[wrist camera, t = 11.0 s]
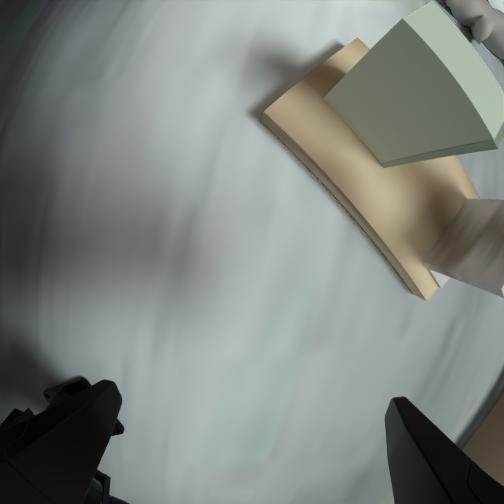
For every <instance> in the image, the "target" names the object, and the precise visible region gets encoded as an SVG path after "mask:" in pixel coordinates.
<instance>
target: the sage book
mask: <svg viewBox="0 0 504 504" xmlns="http://www.w3.org/2000/svg"><path fill="white" fill-rule="evenodd" d="M323 100H324V101H325V102H326V103H327V104H328V105H329V106H330V107H331V108H332V109H333V110H334V111H335V112H336V113H337V114H338V115H339V116H340V117H341V118H342V119H343V121H344V122H345V123H346V124H347V125H348V126H349V127H350V128H351V129H352V130H353V132H354V133H355V134H356V135H357V136H358V137H359V138H360V139H361V141H362V142H363V143H364V144H365V145H366V146H367V148H368V149H369V150H370V151H371V152H372V154H373V155H374V156H375V157H376V158H377V160H378V161H379V162H380V164H381V166H382V167H383V168H388V167H393V166H398V165H403V164H408V163H414V162H419V161H424V160H430V159H436V158H441V157H447V156H453V155H459V154H466V153H472V152H479V151H486V150H493V149H498V148H499V146H500V144H501V142H502V141H503V139H504V92H503V90H502V88H501V87H500V85H499V84H498V82H497V80H496V79H495V77H494V76H493V74H492V73H491V71H490V70H489V68H488V67H487V65H486V64H485V62H484V61H483V60H482V58H481V57H480V55H479V54H478V53H477V51H476V50H475V49H474V47H473V46H472V45H471V44H470V42H469V41H468V40H467V39H466V37H465V36H464V35H463V34H462V32H461V31H460V30H459V29H458V28H457V27H456V25H455V24H454V23H453V22H452V21H451V20H450V19H449V18H448V16H447V15H446V14H445V13H444V12H443V11H442V10H441V9H440V8H439V7H438V6H437V5H436V4H435V3H434V2H433V1H431V2H429V3H427V4H426V5H424V6H422V7H421V8H419V9H417V10H415V11H414V12H412V13H411V14H409V15H407V16H406V17H404V18H402V19H401V20H400V21H399V22H398V23H397V24H396V25H395V26H394V27H393V28H392V29H391V30H390V31H389V32H388V33H387V34H386V35H385V36H384V37H383V38H382V39H381V40H380V41H379V42H377V43H376V44H375V45H374V46H373V47H372V48H371V49H370V50H369V51H368V52H367V53H366V54H365V55H364V56H363V57H362V58H361V59H360V60H359V62H358V63H357V64H356V65H355V66H354V67H353V68H352V69H351V70H350V71H349V72H348V73H347V74H346V75H345V76H344V77H343V78H342V79H341V80H340V81H339V82H338V83H337V84H336V85H335V86H334V87H333V89H332V90H331V91H330V92H329V93H328V94H327V95H326V96H325V97H324V98H323Z"/></svg>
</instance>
